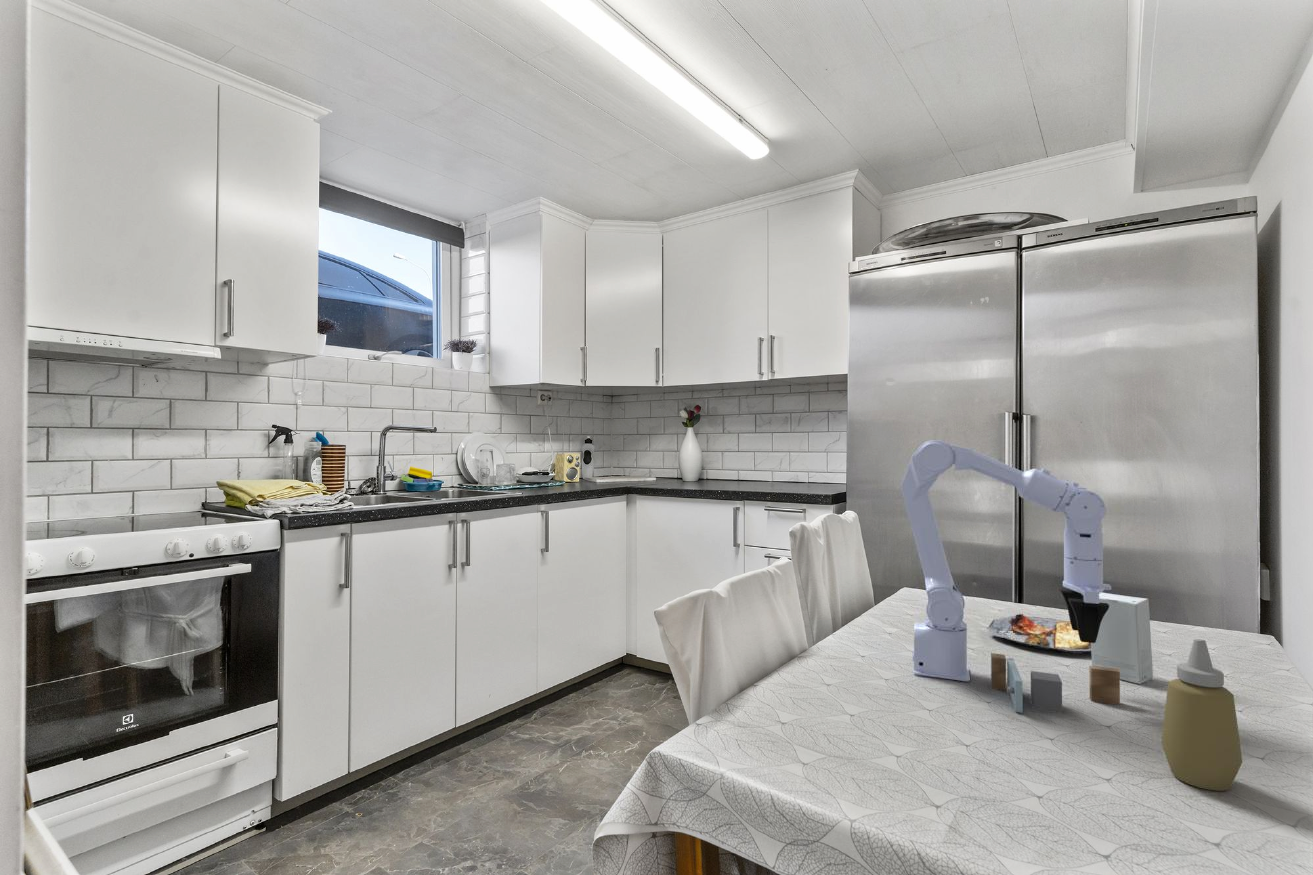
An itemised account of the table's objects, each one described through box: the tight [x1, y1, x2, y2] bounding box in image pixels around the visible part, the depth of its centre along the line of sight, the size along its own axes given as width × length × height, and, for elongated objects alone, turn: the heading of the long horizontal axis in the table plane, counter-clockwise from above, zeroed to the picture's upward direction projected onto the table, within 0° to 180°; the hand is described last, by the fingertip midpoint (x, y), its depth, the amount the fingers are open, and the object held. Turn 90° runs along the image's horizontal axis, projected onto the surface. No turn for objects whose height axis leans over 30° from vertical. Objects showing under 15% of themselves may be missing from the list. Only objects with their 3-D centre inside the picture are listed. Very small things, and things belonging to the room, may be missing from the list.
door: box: [1006, 657, 1024, 714], centre depth 111 cm, size 12×2×5 cm, turn 157°
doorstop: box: [1030, 670, 1063, 714], centre depth 108 cm, size 4×4×5 cm
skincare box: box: [1090, 591, 1154, 685], centre depth 123 cm, size 8×6×15 cm
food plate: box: [987, 613, 1091, 655], centre depth 145 cm, size 25×23×4 cm
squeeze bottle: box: [1160, 638, 1243, 792], centre depth 84 cm, size 8×8×18 cm
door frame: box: [990, 652, 1121, 706], centre depth 113 cm, size 19×2×6 cm, turn 66°
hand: (1083, 635), depth 114 cm, fingers open, 7 cm apart
